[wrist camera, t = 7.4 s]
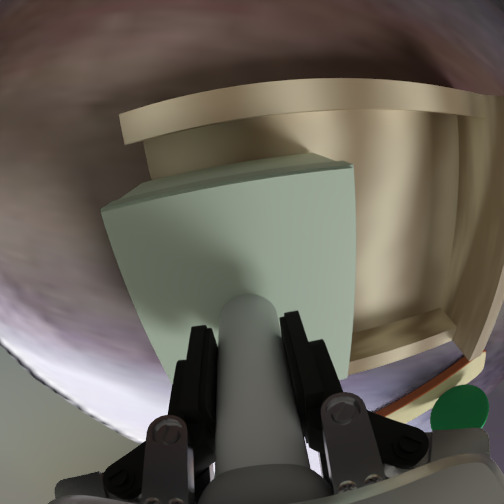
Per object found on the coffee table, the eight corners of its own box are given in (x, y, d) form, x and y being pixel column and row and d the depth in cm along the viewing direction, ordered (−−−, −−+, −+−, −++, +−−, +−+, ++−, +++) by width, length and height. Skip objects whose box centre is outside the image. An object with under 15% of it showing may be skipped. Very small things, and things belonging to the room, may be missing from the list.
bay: (460, 96, 15) (526, 101, 8) (443, 310, 23) (481, 355, 17) (142, 116, 15) (91, 113, 9) (210, 362, 23) (207, 430, 17)
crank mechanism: (338, 447, 34) (365, 552, 16) (323, 435, 31) (353, 557, 14) (479, 365, 30) (536, 453, 12) (482, 341, 27) (551, 439, 10)
